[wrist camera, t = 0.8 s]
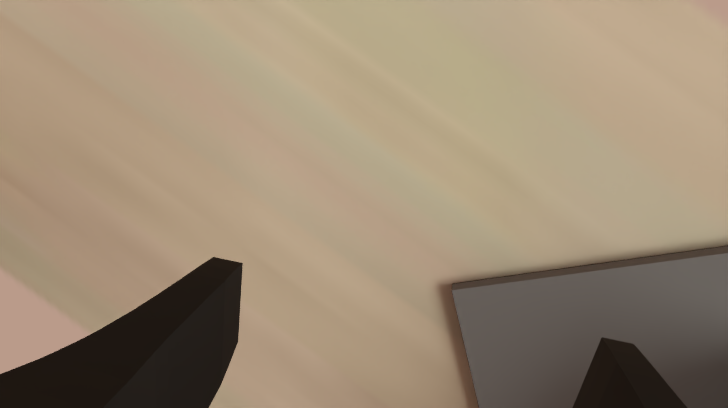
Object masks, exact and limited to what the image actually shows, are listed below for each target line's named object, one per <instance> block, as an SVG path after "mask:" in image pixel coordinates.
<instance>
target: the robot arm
mask: <svg viewBox="0 0 728 408" xmlns="http://www.w3.org/2000/svg"><path fill="white" fill-rule="evenodd" d="M241 280H242V263H239V262H234V261H230V260H225V259H220V258H215V257H213V258H211V259H210V260H208V261H207V262H205V263H204V264H202V265H201V266H199V267H198V268H196V269H195V270H193V271H192V272H190V273H189V274H187V275H186V276H184V277H183V278H182V279H180V280H179V281H177V282H176V283H174V284H173V285H171V286H170V287H168V288H167V289H165V290H164V291H162V292H161V293H159V294H158V295H156V296H155V297H153V298H151V299H150V300H148V301H147V302H145V303H144V304H142V305H141V306H139V307H137V308H136V309H134V310H133V311H131V312H129V313H128V314H126V315H124V316H122V317H121V318H119V319H117V320H115V321H114V322H112V323H110V324H109V325H107V326H105V327H103V328H102V329H100V330H98V331H96V332H94V333H92V334H91V335H89V336H87V337H85V338H83V339H81V340H79V341H77V342H75V343H73V344H71V345H69V346H66V347H64V348H62V349H60V350H58V351H56V352H54V353H52V354H49V355H47V356H45V357H43V358H40V359H38V360H35V361H33V362H30V363H28V364H25V365H23V366H20V367H18V368H15V369H13V370H10V371H8V372H5V373H2V374H0V408H209V406H210V404H211V402H212V400H213V398H214V397H215V395H216V393H217V391H218V389H219V387H220V385H221V383H222V381H223V378H224V376H225V373H226V371H227V368H228V366H229V363H230V361H231V358H232V356H233V353H234V350H235V348H236V345H237V343H238V331H239V314H240V297H241ZM573 408H687V407H686V405H685V404H684V403H683V402H682V401H681V399H680V398H679V397H678V396H677V395H676V393H675V392H674V391H673V390H672V389H671V387H670V386H669V385H668V384H667V383H666V381H665V380H664V379H663V378H662V377H661V375H660V374H659V373H658V372H657V371H656V369H655V368H654V367H653V366H652V364H651V363H650V362H649V361H648V360H647V359H646V357H645V356H644V355H643V354H642V353H641V352H640V350H639V349H638V348H637V347H636V346H635V345H634V344H632V343H627V342H622V341H618V340H613V339H608V338H603V337H602V338H601V340H600V342H599V345H598V347H597V350H596V352H595V354H594V357H593V359H592V362H591V364H590V367H589V369H588V371H587V374H586V376H585V379H584V381H583V383H582V386H581V388H580V391H579V393H578V396H577V398H576V400H575V403H574V405H573Z"/></svg>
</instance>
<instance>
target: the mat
mask: <svg viewBox="0 0 728 408" xmlns="http://www.w3.org/2000/svg"><path fill="white" fill-rule="evenodd" d="M452 294H453V298H454V302H455V307H456V311H457V315H458V319H459V324H460V328H461V332H462V337H463V341H464V345H465V349H466V354H467V358H468V362H469V366H470V371H471V375H472V379H473V384H474V388H475V392H476V396H477V401H478V405H479V408H573V405H574V403H575V400H576V398H577V396H578V393H579V391H580V388H581V386H582V383H583V381H584V379H585V376H586V374H587V371H588V369H589V367H590V364H591V362H592V359H593V357H594V354H595V352H596V350H597V347H598V345H599V342H600V340H601V338H602V337H603V338H608V339H613V340H618V341H622V342H627V343H632V344H634V345H635V346H636V347H637V348H638V349H639V350H640V352H641V353H642V354H643V355H644V356H645V357H646V359H647V360H648V361H649V362H650V363H651V364H652V366H653V367H654V368H655V369H656V371H657V372H658V373H659V374H660V375H661V377H662V378H663V379H664V380H665V381H666V383H667V384H668V385H669V386H670V387H671V389H672V390H673V391H674V392H675V393H676V395H677V396H678V397H679V398H680V399H681V401H682V402H683V403H684V404H685V405H686V407H687V408H728V246H724V247H717V248H709V249H702V250H695V251H688V252H680V253H673V254H666V255H659V256H651V257H644V258H637V259H630V260H622V261H615V262H608V263H601V264H593V265H586V266H579V267H572V268H564V269H557V270H550V271H543V272H536V273H528V274H521V275H514V276H507V277H499V278H492V279H485V280H478V281H470V282H463V283H456V284H452Z"/></svg>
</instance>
